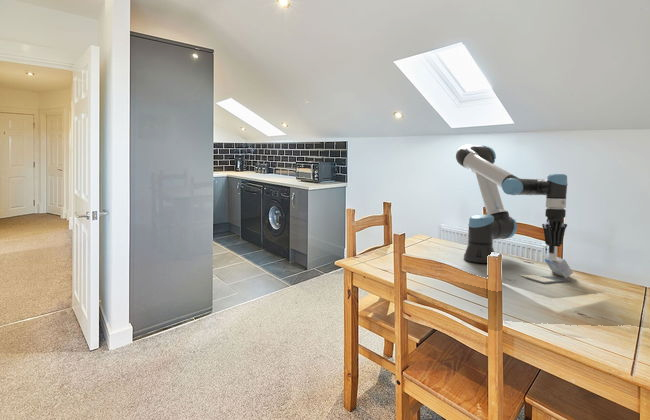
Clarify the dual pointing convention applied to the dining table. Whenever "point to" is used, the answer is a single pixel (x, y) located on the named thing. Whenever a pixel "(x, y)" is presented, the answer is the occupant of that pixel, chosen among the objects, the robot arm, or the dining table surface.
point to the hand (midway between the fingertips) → (552, 260)
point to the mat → (545, 279)
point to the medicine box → (559, 267)
